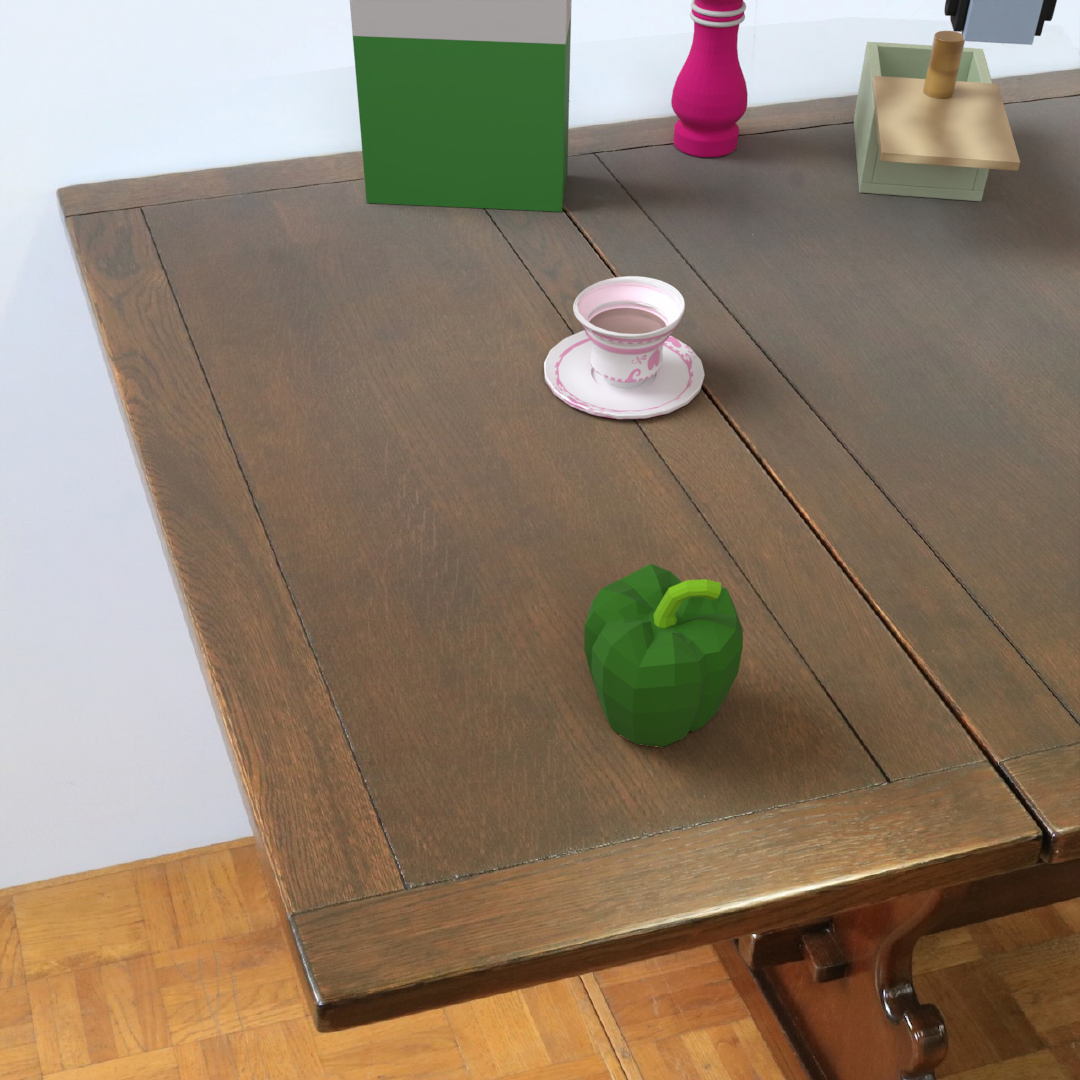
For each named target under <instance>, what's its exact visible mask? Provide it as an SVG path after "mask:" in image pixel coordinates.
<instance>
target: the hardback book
mask: <svg viewBox="0 0 1080 1080" xmlns="http://www.w3.org/2000/svg"><path fill="white" fill-rule="evenodd" d="M349 6H350V7H349V9H350V18H351V19H350V21H351V22H350V23H351V32H352V33H351V34H352V43H353V44H352V45H353V56H354V65H355V66H354V68H355V69H354V70H355V78H356V79H355V80H356V81H355V82H356V92H357V93H356V94H357V104H358V116H359V128H360V138H361V141H360V142H361V151H362V152H361V153H362V163H363V164H362V165H363V176H364V177H363V178H364V187H365V189H364V190H365V197H366V198H365V199H366V204H380V205H381V204H385V205H404V206H405V205H407V206H425V207H426V206H427V207H448V208H449V207H450V208H468V209H469V208H470V209H491V210H492V209H493V210H494V209H495V210H511V211H513V210H515V211H535V212H556V213H557V212H558V213H562V212H563V207H564V202H565V201H564V200H565V193H566V187H567V179H568V167H569V165H568V163H569V162H568V161H569V160H568V159H569V121H570V120H569V119H570V84H571V83H570V80H571V79H570V78H571V77H570V76H571V43H572V42H571V41H572V40H571V37H572V0H349Z"/></svg>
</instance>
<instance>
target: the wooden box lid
mask: <svg viewBox="0 0 1080 1080" xmlns="http://www.w3.org/2000/svg"><path fill="white" fill-rule="evenodd" d="M965 42H966V41H964V39H963V35H962V32H955V31H954V30H939V31H937V32H936V33H934V36H933V40H932V44H931V45H932V50H931V55H930V60H929V64H928V69H927V74H926V79H916V78H901V77H885V76H873V81H872V89H873V98H874V107H875V117H876V126H877V135H878V144H879V154H880V161H887V162H901V163H915V164H929V165H943V166H957V167H971V168H985V169H989V170H1001V171H1015V172H1017V171H1018V172H1019V168H1020V164H1021V160H1020V156H1019V153H1018V149H1017V146H1016V141H1015V139H1014V136H1013V135H1014V134H1013V132H1012V129H1011V125H1010V121H1009V118H1008V114H1007V111H1006V107H1005V104H1004V101H1003V98H1002V93H1001V90H1000V87H999V84H998V83H993V82H992V83H978V82H962V81H956V79H957V75H958V70H959V66H960V61H961V57H962V52H963V48H965Z"/></svg>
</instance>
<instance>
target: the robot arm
mask: <svg viewBox="0 0 1080 1080" xmlns="http://www.w3.org/2000/svg"><path fill="white" fill-rule="evenodd" d="M969 3H970V0H945V4H944V16H945V17H946V16H947V17H949V20H950V24H951V26H952V31H954V32H958V33H962V32H961V31H962V30H964V26H965V22H966V17H967V13H968V8H969ZM1057 3H1058V0H1043V4H1042V8H1041V12H1040V16H1039V20H1038V24H1037V28H1036V32H1035V36H1034V37H1040V36H1042V33H1043V29H1044V25H1045V23H1046V22H1051V21H1052V20H1053V17H1054V14H1055V11H1056V10H1055V9H1056V6H1057Z"/></svg>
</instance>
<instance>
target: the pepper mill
mask: <svg viewBox="0 0 1080 1080" xmlns="http://www.w3.org/2000/svg"><path fill="white" fill-rule="evenodd" d="M690 8H691V11H690V12H689V17H690V19H691V21H693V35H692V43H691V46H690V49H689V52H688V55H687V56H686V59H685V62H684V64H683V65H682V68H681V69H680V71H679V73H678V75H677V77H676V80H675V82H674V85H673V89H672V93H671V103H670V104H671V108H672V111H673V113H674V114H675V115H676V117H677V118H678V120H677V121H676V122H675V124H674V126H673V127H674V129H673V140H672V141H673V145H674V147H675V148H676V149H677V150H678V151H680V152H681V153H684V154H686V155H688V156H692V157H693V156H694V157H696V158H697V157H698V158H719V157H725V156H727V155H730V154H731V153H733V152H734V151H735V150H736V149H737V147H738V145H739V135H740V134H739V133H740V127H739V126H738V124H737V123H738V122H739V121H740V120H741V119H742V117H743V116H744V115H745V113H746V111H747V108H748V98H749V97H748V96H749V95H748V88H747V81H746V79H745V76H744V72H743V70H742V67H741V63H740V60H739V50H738V37H739V36H738V35H739V29H740V25H741V24H742V23H743V22H744V21H745V20H746V15H745V11H746V10H747V4H746V2H745V1H744V0H691V2H690Z"/></svg>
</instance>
